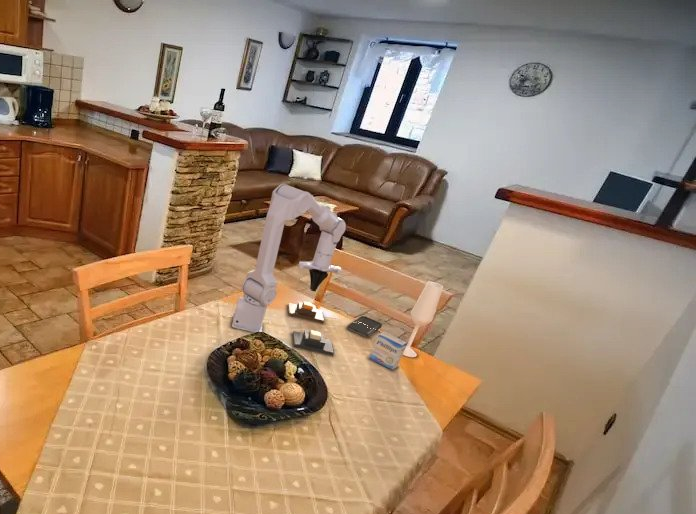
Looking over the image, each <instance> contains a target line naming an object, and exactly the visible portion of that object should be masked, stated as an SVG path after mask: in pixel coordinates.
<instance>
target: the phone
mask: <svg viewBox="0 0 696 514" xmlns="http://www.w3.org/2000/svg"><path fill="white" fill-rule="evenodd" d="M356 321H357V323H353V322H356ZM358 321H359V322H362V323H359V322H358ZM358 323H359V324H358ZM363 323H364V324H366V325H364V324H363ZM367 325H368V326H367ZM382 326H383V324H382V323H381V322H379V321H377V320H375V319H372V318H370V317H368V316H365V315H361V316H359V317H358V318H356V319H355V320H354V321H352V322H350V323H349V324H347V327H346V329H347V330H348V331H350V332H353V333H356V334H357V335H359V336H362V337H364V338H369V337H370V336H372V335H373V334H375V333H377V331H378V330H380V329H381V328H382ZM367 327H368V328H367ZM370 328H371V329H370ZM373 328H374V329H373ZM375 329H376V330H375Z"/></svg>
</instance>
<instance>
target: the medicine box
mask: <svg viewBox="0 0 696 514" xmlns="http://www.w3.org/2000/svg"><path fill="white" fill-rule="evenodd" d="M375 339H376V340H375V341H374V344H373V346H372V348H371V351H370V354H369V356H368V359H369V360H371V361H373V362H375V363H377V364H379V365H381V366H383V367H385V368H387V369H389V370H391V371H392V370H395V369H396V368H397V367H398V366H399V365H400V362H401V359H402V358H403V356H404V355H403V353H404V350H405V348H406V346H407V344H408V341H405V340H403V339H401V338H399V337H396V336H394V335H392V334H391V333H388V332H386V331H382V332H380V333H379V334H377V337H376V338H375Z"/></svg>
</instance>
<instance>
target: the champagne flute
mask: <svg viewBox="0 0 696 514" xmlns="http://www.w3.org/2000/svg"><path fill="white" fill-rule="evenodd" d="M443 289H444V285H442V284H441V283H438V282H436V281H431V280H428V281H427V282H426V283H425V286H424V287H423V289H422V291H421V293H420V294H419V297H418V298H417V300H416V302H415V304H414V305H413V308H412V310H411V311H410V319H411V321H412V323H413V324H414V328H413V330H412V333H411V334H410V337H409V340H408V341H407V343H408V344H407V346H406V348H405V350H404V353H403V355H402V356H405V357H408V358H415V357H417V355H418V354H417V353H416V352H415V350H414V349H413V348H412V344H413V342H414V340H415V337H416V335H417V333H418V331H419V329H420V327H424V326H426V325H429V324H430V323H431V322H433V319H434V317H435V314H436V310H437V308H438V305H439V301H440V299H441V295H442V292H443Z"/></svg>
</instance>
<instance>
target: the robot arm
mask: <svg viewBox="0 0 696 514" xmlns="http://www.w3.org/2000/svg"><path fill="white" fill-rule="evenodd" d="M306 212H308V213H310V214H311V219H312V222H314V223H315V224H316V225H318V227H319V231H321V233H320V237H319V239H318V243H317V246H316V250H315V253H314V256H313V259H312V261H301V260H300V261H299V262H298V264H297V267H298V269H299V270H303V269H304V270H308V272H309V277H310V282H309V283H310V284H309V285H310V287H309V290H310V291H311V292H317V290H318V288H319V287H320V285H321V284H322V282H324V281H325V280H326V279H327V278H328V277H329V273H333V274H334V273H335V274H337V275H340V274H341V271H342V268H341V266H337V265H333V264H331V262H332V259H333V256H334V254H335V250H336V247H337V245H338V243H339V242H340V240H341V237H342V236H343V234H344V233H345V232H346V229H347V228H346V227H347V224H346V222H345V220H344V219H342V218H340V217H338V214H337V213H335V212H333V211H332V207H331V206H329V205H321V204H320V203H319V202H318V200H316V199H315V198H314V195H313V194H312V193H310V192H309V191H305V190H302V189H299V188H297V187H294V186H291V185H289V184H287V183H281V184H279V185H278V186H277V187H276V188H275V189H274V190H273V191H272V192H271V198H270V203H269V207H268V210H267V213H266V218H265V222H264V227H263V231H262V235H261V240H260V243H259V244H260V245H259V249H258V253H257V259H256V263H255V267H254V269H253V270H250V271H248V272H247V273H246V275H245V279H244V281H243V282H242V285H241V291H242V293H243V296H238V297H237V302H236V307H235V310H234V313H233V314H232V324H231V328H233V329H234V328H235V329H237V330H241V331H247V332H250V333H251V332H252V333H255V334H257V333H256V332H262V333H263V323H264V322H263V321H264V318H265V315H266V311H267V308H268V306H269V305H271V304H272V303H273V302H274V301H275V299H276V298H277V284H278V282H277V280H276V277H275V276H274V270H275V266H276V262H277V257H278V254H279V249H280V245H281V240H282V237H283V231H284V227H285V224H286V223H287V222H288V221H289V222H290V221H293V220H294V219H296V218H298V217H300V216H302V215H303V214H305V213H306Z"/></svg>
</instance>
